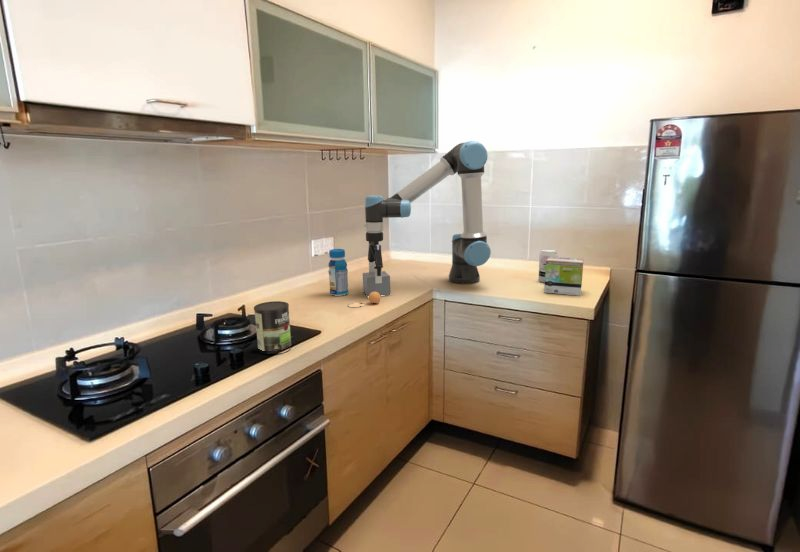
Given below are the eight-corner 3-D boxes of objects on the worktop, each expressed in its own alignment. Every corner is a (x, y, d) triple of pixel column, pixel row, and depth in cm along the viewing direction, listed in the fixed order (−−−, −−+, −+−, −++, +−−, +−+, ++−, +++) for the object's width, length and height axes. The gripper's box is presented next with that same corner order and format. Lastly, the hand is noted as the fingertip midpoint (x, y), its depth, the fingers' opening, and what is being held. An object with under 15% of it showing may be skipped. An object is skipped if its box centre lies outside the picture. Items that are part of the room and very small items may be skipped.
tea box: (543, 293, 200) (545, 260, 197) (545, 288, 209) (547, 255, 206) (581, 296, 194) (583, 261, 191) (581, 290, 204) (583, 257, 200)
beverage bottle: (345, 296, 202) (343, 251, 197) (327, 296, 203) (324, 251, 199) (351, 291, 210) (349, 248, 205) (333, 291, 211) (330, 248, 207)
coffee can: (298, 345, 146) (295, 302, 143) (277, 357, 137) (273, 312, 134) (273, 341, 151) (269, 299, 148) (250, 352, 142) (246, 308, 138)
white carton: (554, 279, 224) (555, 249, 221) (558, 283, 216) (559, 252, 213) (537, 279, 225) (538, 249, 221) (540, 283, 217) (541, 252, 213)
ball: (367, 302, 192) (367, 290, 191) (379, 301, 194) (379, 289, 192) (370, 305, 188) (369, 293, 187) (382, 304, 189) (381, 292, 188)
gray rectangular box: (363, 291, 209) (362, 272, 207) (385, 289, 212) (384, 271, 210) (367, 297, 200) (366, 277, 198) (390, 295, 202) (389, 275, 200)
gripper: (360, 228, 210) (361, 274, 215) (371, 235, 187) (372, 286, 192) (376, 228, 212) (377, 273, 217) (389, 235, 189) (390, 285, 193)
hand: (375, 279), depth 204 cm, fingers open, 13 cm apart
